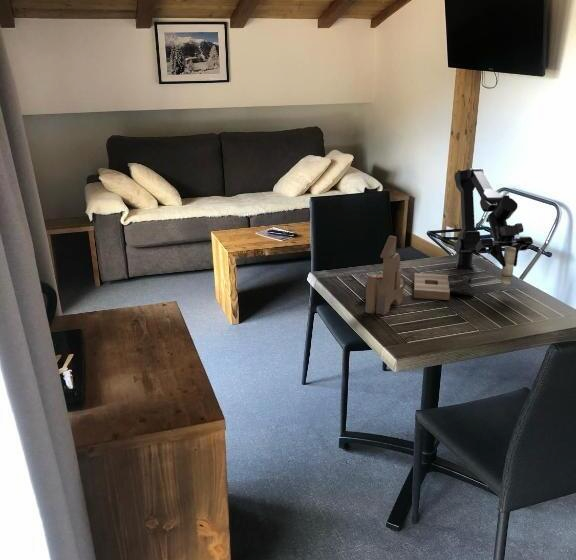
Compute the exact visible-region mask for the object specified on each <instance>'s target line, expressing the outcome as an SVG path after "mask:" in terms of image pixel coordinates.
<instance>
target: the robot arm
mask: <svg viewBox="0 0 576 560" xmlns="http://www.w3.org/2000/svg"><path fill="white" fill-rule="evenodd" d="M454 181H455V186H456V188H457V191H459V193H460V213H461V229H460V232H459V233H458V237H457V241H456V242H455V243H454V244H453V252H455V253H456V254H457V262H455V266H456V269H467V270H474V265H473V257H474V254H479V253H485V252H486V251H487V249H488V251H487V254H488V255H491V256H492V257H493V258H494V259H495V260H496V261H497V262H498V263H499V264H500V265H501V266H503V267H505V266H506V264H505V260H504V252H503V250H502V249H503V248H506V247H513V248H516V253H515V260H514V267H513V268H515V267H517V266H518V256H519V252H521V251H522V252H525V251H528V249H529V248H530V247H531V246H532V245H533V244H534V240H533V238H532V237H531V236H520V237H519V238H517V240H514V239H515V238H516V235H517V236H519V235H520V234H521V233H524V225H523V223H521V222H519V223H518V222H517V223H515V224H514V225H510V224H508V222H507V220H509V219H510V218H511V216H512V215H513V214H514V213H515V212H516V211H517V209H518V208H519V207H518V202H517V201H515V199H514V198H511V196H510V195H509V194H508V195H507V194H505V195H503V196H502V194H501V193H500V192H498V191H496V190H494V189H493V187H492V185H491V184H490V182H489V180H488V179H487V177H486V175H485V174H484V169H483V168H481V167H471V168H468V169H458V170H457V171H456V172H455V173H454ZM474 190H476V191H477V193H478V195H479V197H480V201H479V205H480V208H481V210H482V211H483V212H485V213H487V212H489V214H488V215H487V218H486V219H485V222H486V223H488V224H489V227H490V231H491V232H490V233H489V235H490V237H485V238H484V237H483V238H482V237H481V233H480V231H479V230H477V228H476V226H475V225H476V224H475V205H474ZM491 237H492V238H491Z"/></svg>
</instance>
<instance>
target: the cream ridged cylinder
mask: <svg viewBox="0 0 576 560" xmlns="http://www.w3.org/2000/svg"><path fill="white" fill-rule="evenodd" d="M515 253H516V248H513V247H504V251H503V256H504V260H505V264H506V266H505V267H503V266H502V265H501V266H502V267H501V273H500V274H501V275H500V276H501V281H500V282H501V284H502V285H511V281H512V277H513V274H514V268H515V267H514V260H515Z"/></svg>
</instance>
